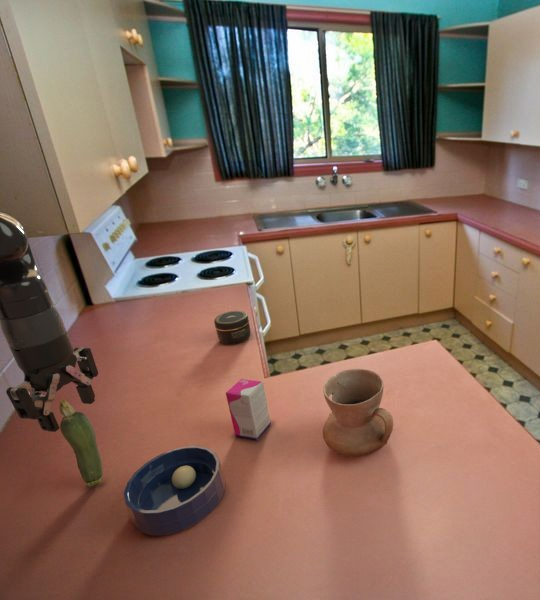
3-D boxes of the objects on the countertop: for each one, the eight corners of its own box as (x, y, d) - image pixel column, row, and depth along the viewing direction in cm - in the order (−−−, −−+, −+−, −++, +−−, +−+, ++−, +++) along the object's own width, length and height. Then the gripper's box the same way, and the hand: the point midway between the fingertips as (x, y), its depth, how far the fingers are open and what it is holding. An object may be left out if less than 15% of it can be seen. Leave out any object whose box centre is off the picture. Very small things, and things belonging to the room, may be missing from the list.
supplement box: (271, 423, 97) (264, 380, 92) (257, 440, 92) (248, 397, 87) (249, 419, 98) (240, 377, 94) (234, 436, 93) (224, 393, 89)
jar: (214, 338, 136) (209, 316, 132) (244, 328, 141) (240, 307, 138) (225, 349, 129) (220, 327, 125) (257, 338, 134) (253, 316, 131)
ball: (177, 497, 78) (171, 481, 76) (172, 483, 81) (167, 467, 79) (200, 486, 80) (195, 470, 78) (195, 473, 83) (190, 457, 81)
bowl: (140, 556, 68) (129, 530, 66) (129, 494, 80) (120, 470, 77) (236, 507, 76) (229, 482, 74) (213, 457, 88) (207, 434, 85)
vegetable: (89, 476, 84) (53, 392, 76) (114, 470, 85) (81, 387, 77) (83, 493, 80) (44, 407, 72) (109, 486, 81) (74, 401, 73)
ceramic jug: (306, 441, 91) (298, 386, 85) (354, 407, 101) (350, 356, 95) (366, 483, 80) (361, 423, 75) (414, 440, 90) (413, 384, 85)
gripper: (56, 315, 77) (86, 390, 83) (-29, 356, 64) (15, 442, 70) (92, 316, 76) (120, 393, 82) (14, 359, 63) (54, 446, 69)
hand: (71, 415), depth 76 cm, fingers open, 7 cm apart
